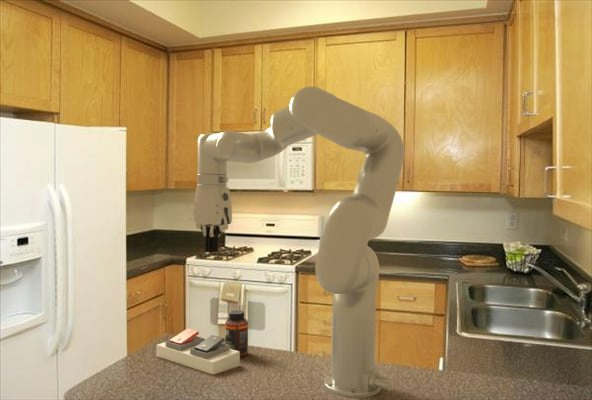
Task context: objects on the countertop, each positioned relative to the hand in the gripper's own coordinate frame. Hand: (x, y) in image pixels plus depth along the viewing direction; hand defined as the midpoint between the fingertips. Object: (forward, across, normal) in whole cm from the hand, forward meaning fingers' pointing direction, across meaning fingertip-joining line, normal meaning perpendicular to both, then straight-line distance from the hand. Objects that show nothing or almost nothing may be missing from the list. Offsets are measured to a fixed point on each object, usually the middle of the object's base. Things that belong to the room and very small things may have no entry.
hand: (211, 251), depth 121 cm
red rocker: (+22, +2, +7) cm, 23 cm away
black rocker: (+22, -7, +7) cm, 24 cm away
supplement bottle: (+27, -6, -4) cm, 28 cm away
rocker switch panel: (+27, -2, +7) cm, 28 cm away
